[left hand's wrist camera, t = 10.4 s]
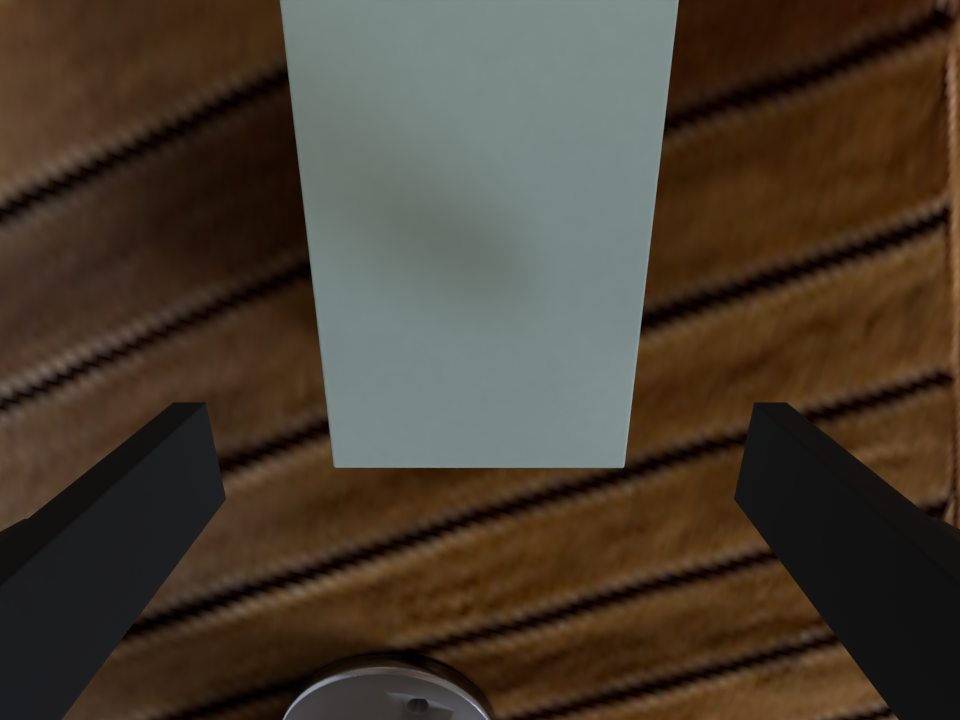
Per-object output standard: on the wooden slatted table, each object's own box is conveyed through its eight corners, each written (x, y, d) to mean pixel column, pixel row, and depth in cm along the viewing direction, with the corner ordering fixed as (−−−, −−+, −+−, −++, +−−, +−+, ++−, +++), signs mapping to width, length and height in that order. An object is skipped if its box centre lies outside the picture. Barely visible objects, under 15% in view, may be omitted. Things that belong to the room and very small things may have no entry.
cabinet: (347, -75, 21) (249, -248, 12) (611, -75, 21) (709, -248, 12) (380, 369, 28) (333, 468, 19) (578, 369, 28) (624, 468, 19)
